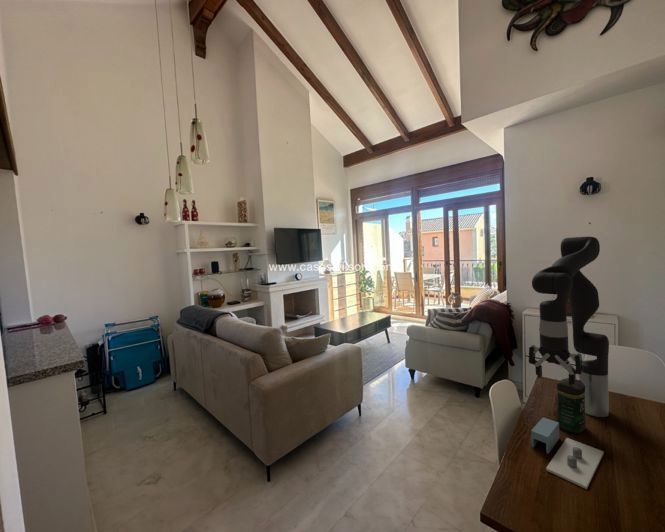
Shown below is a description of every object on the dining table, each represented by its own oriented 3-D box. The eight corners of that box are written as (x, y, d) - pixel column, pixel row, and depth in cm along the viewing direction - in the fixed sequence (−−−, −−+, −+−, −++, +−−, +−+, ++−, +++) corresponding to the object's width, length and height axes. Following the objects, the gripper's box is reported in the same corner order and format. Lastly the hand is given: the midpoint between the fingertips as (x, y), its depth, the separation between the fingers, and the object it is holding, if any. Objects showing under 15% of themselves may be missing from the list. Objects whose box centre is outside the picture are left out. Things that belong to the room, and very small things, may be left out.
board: (566, 439, 107) (566, 431, 107) (603, 453, 100) (603, 444, 99) (546, 470, 94) (545, 460, 94) (586, 489, 86) (586, 478, 86)
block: (543, 432, 112) (542, 417, 112) (559, 438, 108) (559, 422, 108) (531, 446, 105) (531, 430, 105) (548, 454, 101) (547, 437, 101)
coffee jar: (578, 437, 109) (577, 388, 108) (553, 426, 115) (552, 380, 114) (589, 427, 113) (588, 380, 112) (564, 418, 120) (564, 373, 119)
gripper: (584, 334, 94) (585, 383, 95) (532, 326, 105) (534, 371, 106) (578, 340, 89) (579, 392, 90) (524, 331, 100) (526, 378, 101)
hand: (555, 380), depth 98 cm, fingers open, 8 cm apart
